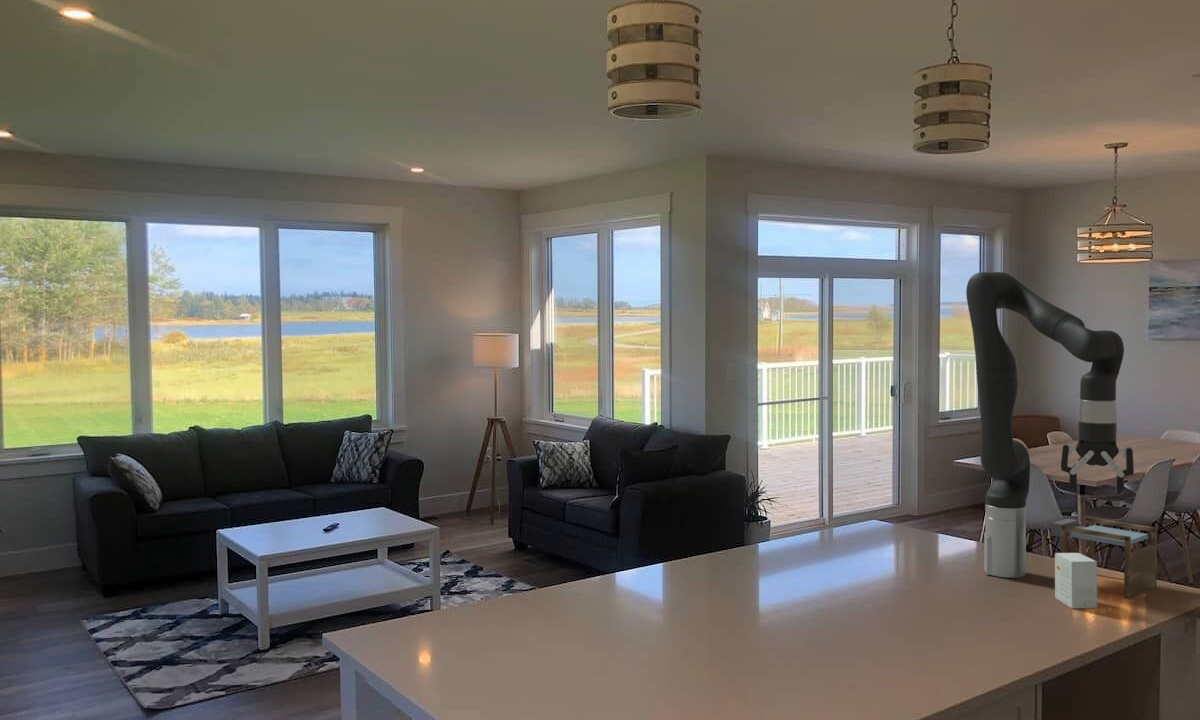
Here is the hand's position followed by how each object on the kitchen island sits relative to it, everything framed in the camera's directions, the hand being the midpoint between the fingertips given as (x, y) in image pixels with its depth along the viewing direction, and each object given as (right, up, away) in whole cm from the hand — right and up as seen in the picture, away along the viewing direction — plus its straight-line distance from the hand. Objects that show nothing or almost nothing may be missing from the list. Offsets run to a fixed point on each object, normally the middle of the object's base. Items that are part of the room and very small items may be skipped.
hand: (1096, 492), depth 206 cm
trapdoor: (+8, -13, +14) cm, 21 cm away
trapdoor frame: (+10, -24, +13) cm, 29 cm away
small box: (-5, -25, -1) cm, 25 cm away
